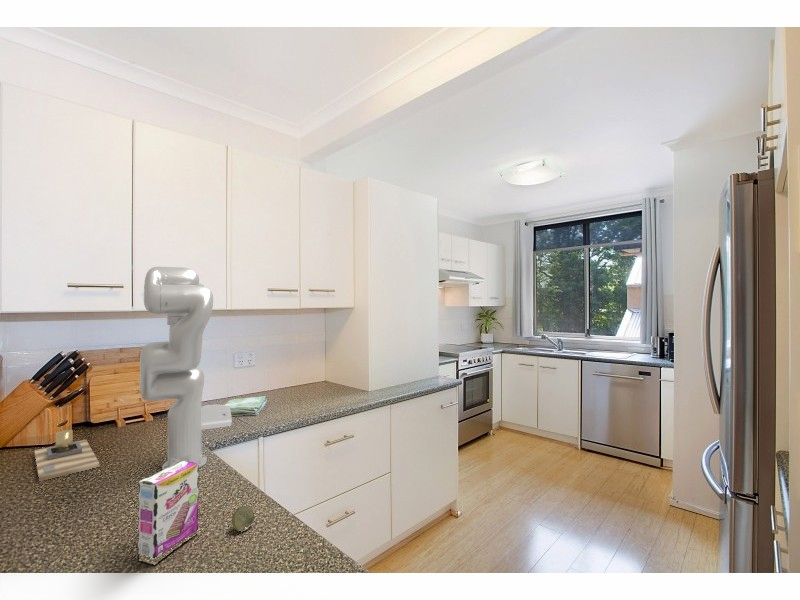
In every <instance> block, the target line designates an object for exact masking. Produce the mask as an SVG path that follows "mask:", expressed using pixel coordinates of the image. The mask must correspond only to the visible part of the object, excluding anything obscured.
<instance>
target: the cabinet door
mask: <svg viewBox="0 0 800 600" xmlns="http://www.w3.org/2000/svg"><path fill="white" fill-rule="evenodd" d="M33 453H35V454H34V460H35V459H36V460H35V465H37V466H36V472H37V478H38V477H39V478H38V482H39V481H42V480H46V479H51V478H55V477H59V478H61V477H60V476H63V477H65V476H64V475H67V476H69V475H68V474H71V475H73V474H72V473H75V474H77V473H76V472H79V473H82V472H81V471H83V472H86V471H85V470H87V471H90V470H89V469H91V470H93V469H92V468H95V469H97V468H96V467H99V468H100V462H99V460H98V458H97V456H96V454H95V453H94V451H93V449H92V447H91V446H90V444H89V442H88V440H87V439H83V440H77V441H73V450H68V451H63V452H59V453H56V445H53V446H49V447H43V448H38V449H37V448H36V449H34V452H33ZM55 479H56V478H55ZM51 480H52V479H51Z"/></svg>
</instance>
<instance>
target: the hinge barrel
mask: <svg viewBox="0 0 800 600" xmlns="http://www.w3.org/2000/svg"><path fill="white" fill-rule="evenodd" d="M73 434H74V433H73V429H64V430H59V431H57V432H55V446H56V453H59V452H63V451H68V450H73V442H74V435H73Z"/></svg>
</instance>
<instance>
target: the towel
mask: <svg viewBox="0 0 800 600" xmlns="http://www.w3.org/2000/svg"><path fill="white" fill-rule="evenodd" d="M267 402H268V398H267V396H265V395H262V396H253V397H252V396H251V397H244V398H243V397H242V398H233V399H229V400H227V402H225V404H224V405H225V406H229V407H230V410H231V417H242V416H243V415H245V416H250V415H254V416H257V415H256V414H258V415H259V414H260V413H261V412H262V411H263V409H264V408H265V407H266V405H267ZM264 406H265V407H264ZM261 410H262V411H261ZM260 411H261V412H260ZM259 412H260V413H259ZM243 417H244V416H243Z"/></svg>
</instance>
